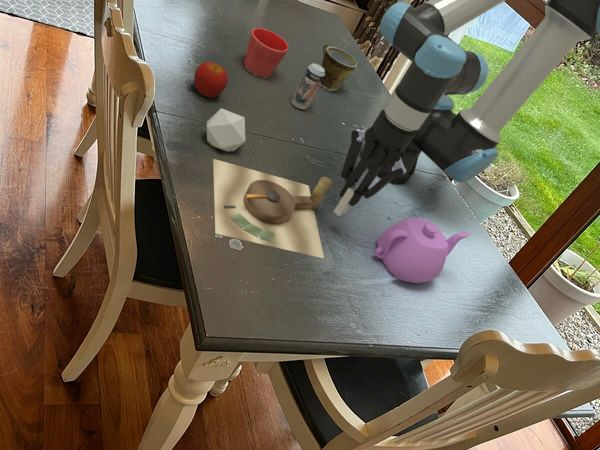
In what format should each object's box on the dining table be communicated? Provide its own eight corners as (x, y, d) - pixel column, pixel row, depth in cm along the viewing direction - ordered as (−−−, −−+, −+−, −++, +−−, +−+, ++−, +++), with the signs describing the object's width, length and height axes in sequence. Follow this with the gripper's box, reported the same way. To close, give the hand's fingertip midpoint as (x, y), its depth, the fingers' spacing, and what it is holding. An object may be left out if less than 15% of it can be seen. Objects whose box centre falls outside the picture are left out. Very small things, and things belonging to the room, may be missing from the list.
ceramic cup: (347, 96, 172) (363, 68, 167) (322, 94, 166) (338, 65, 160) (324, 70, 179) (339, 42, 173) (300, 68, 172) (314, 38, 166)
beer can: (287, 103, 153) (307, 64, 146) (294, 98, 157) (313, 60, 150) (302, 113, 153) (323, 75, 146) (309, 107, 157) (328, 70, 149)
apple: (217, 87, 143) (228, 60, 138) (223, 106, 138) (235, 78, 133) (187, 80, 139) (197, 52, 135) (192, 99, 134) (203, 70, 130)
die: (220, 166, 121) (258, 138, 120) (193, 133, 118) (232, 103, 117) (219, 156, 129) (255, 129, 128) (194, 124, 126) (230, 97, 125)
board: (306, 189, 128) (309, 185, 127) (321, 262, 112) (324, 257, 111) (211, 163, 120) (213, 158, 119) (213, 237, 104) (215, 232, 103)
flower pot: (282, 77, 162) (296, 47, 157) (260, 84, 154) (274, 53, 148) (254, 56, 164) (267, 25, 159) (231, 62, 156) (244, 30, 150)
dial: (251, 224, 109) (266, 197, 104) (232, 188, 114) (245, 160, 110) (326, 222, 120) (342, 197, 115) (305, 189, 125) (320, 164, 121)
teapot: (380, 288, 115) (412, 248, 108) (356, 238, 123) (384, 199, 116) (453, 290, 125) (486, 254, 118) (426, 245, 133) (456, 208, 126)
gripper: (436, 138, 105) (371, 227, 119) (383, 95, 108) (326, 186, 122) (418, 146, 99) (353, 239, 113) (363, 100, 103) (306, 195, 117)
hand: (339, 211), depth 118 cm, fingers closed
